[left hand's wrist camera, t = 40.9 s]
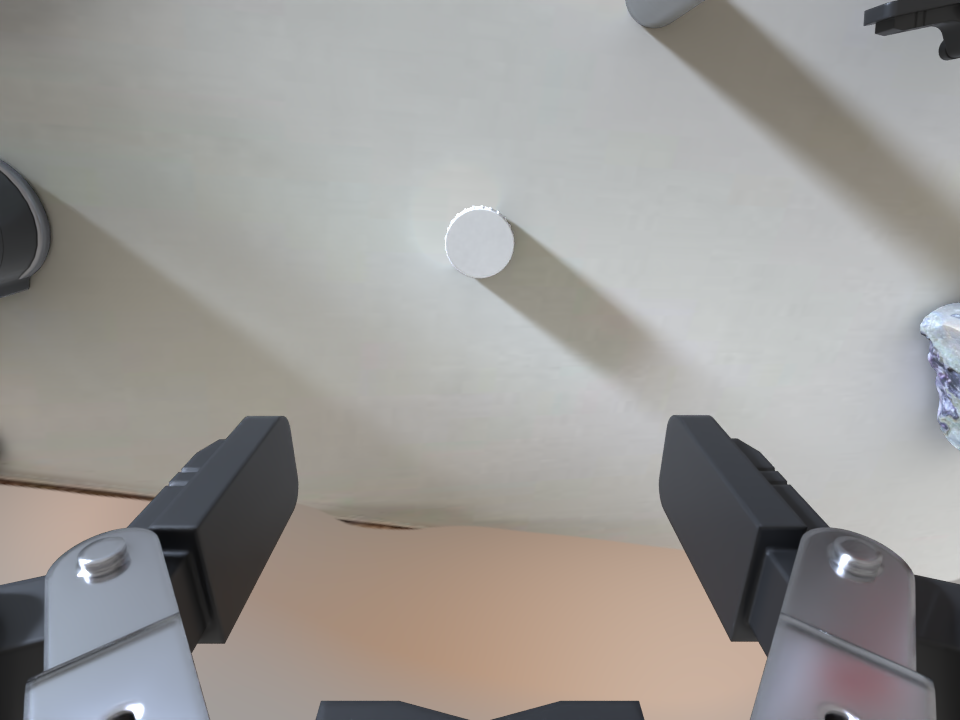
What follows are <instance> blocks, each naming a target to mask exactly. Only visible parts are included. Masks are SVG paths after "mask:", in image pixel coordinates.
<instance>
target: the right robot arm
mask: <svg viewBox="0 0 960 720" xmlns="http://www.w3.org/2000/svg"><path fill="white" fill-rule="evenodd" d="M872 24H876V27H875V34H878V35H882V36H886V35H891V34H896V33H901V32H906V31H910V30H915V29H920V28H925V27H930V26H934V27H937V28H939V29H940V30H941V32H942V35H943V39H944V40H943V42H942V43H941V45H940V47H939V56H940V58H941V59H943V60H951V59H956V58H960V0H897V1H893V2H889V3H886V4H883V5H880V6H877V7H874V8H872V9H869V10H866V11H865V13H864V26H867V25H872Z"/></svg>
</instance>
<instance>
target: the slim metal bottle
mask: <svg viewBox="0 0 960 720" xmlns="http://www.w3.org/2000/svg"><path fill="white" fill-rule="evenodd" d="M625 1H626V5H627V8H628V11H629V13H630V14H631V16H632V17H633V19H634V20H635V21H636V22H638V23H639V24H641V25H643V26H645V27H649V28H659V27H663V26H666V25H668V24H670V23H671V22H673V21H674V20H676V19H677V18H679V17H680V16H682V15H684V14H685V13H687V12H688V11H690V10H691V9H693V8H694V7H696V6H697V5H699V4H700V3H702V2H703V1H705V0H625Z"/></svg>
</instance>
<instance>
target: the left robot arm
mask: <svg viewBox="0 0 960 720" xmlns="http://www.w3.org/2000/svg"><path fill="white" fill-rule="evenodd" d="M49 246H50V228H49V223H48V219H47V216H46V213H45V210H44V208H43V206H42V203H41V202H40V200H39V198H38V196H37V195H36V193H35V192H34V190H33V189H32V188H31V186H30V185H29V184H28V183H27V181H26V180H25V179H24V178H23V177H22V176H21V175H20V174H19V173H18V172H17V171H16V170H14V169H13V168H12V167H11V166H9V165H8V164H7V163H5V162H4V161H2V160H0V298H2V297H5V296H8V295H11V294H15V293H18V292H21V291H24V290H27V289H29V278H30V276H31V275H33V274H34V273H35V272H36V271H37V270H38V269H39V268H40V267H41V266H42V264H43V263H44V261H45V259H46V257H47V254H48V251H49ZM659 493H660V499H661V504H662V507H663V509H664V511H665V513H666V515H667V517H668V519H669V521H670V523H671V525H672V527H673V529H674V531H675V533H676V535H677V537H678V539H679V541H680V543H681V544H682V546H683V548H684V550H685V552H686V554H687V556H688V558H689V560H690V562H691V564H692V566H693V568H694V570H695V572H696V574H697V576H698V578H699V580H700V582H701V584H702V586H703V588H704V589H705V591H706V593H707V595H708V597H709V599H710V601H711V603H712V605H713V607H714V609H715V611H716V613H717V615H718V617H719V619H720V621H721V623H722V625H723V627H724V629H725V631H726V633H727V634H728V636H729V638H730V640H731V641H732V642H733V641H735V642H736V641H737V642H748V641H749V642H759V644H760V645H761V647H762V649H763V651H764V652H765V654H766V656H767V661H766V664H765V668H764V671H763V675H762V678H761V682H760V686H759V689H758V693H757V696H756V700H755V704H754V707H753V711H752V714H751V718H750V720H960V584H956V583H951V582H946V581H942V580H937V579H932V578H927V577H923V576H918V575H914V574H913V572H912V570H911V569H910V567H909V566H908V564H907V563H906V562H905V561H904V560H903V559H902V558H901V557H900V556H898V555H897V554H896V553H895V552H893V551H892V550H890V549H889V548H888V547H886V546H884V545H883V544H881V543H879V542H877V541H875V540H873V539H871V538H869V537H866V536H864V535H861V534H858V533H855V532H852V531H848V530H844V529H838V528H830V527H829V526H828V525H827V524H826V523H825V522H824V521H823V520H822V518H821V517H820V516H819V515H818V514H817V513H816V512H815V511H814V510H813V509H812V508H811V507H810V505H809V504H808V503H807V502H806V501H805V500H804V499H803V498H802V497H801V496H800V495H799V494H798V493H797V491H796V490H795V489H794V488H793V487H792V486H791V485H787V481H786V480H785V479H784V477H783V476H782V475H781V474H780V473H779V472H778V471H775V468H774V467H773V466H772V464H771V463H770V462H769V461H768V460H767V459H766V458H765V457H764V456H763V455H762V454H761V453H760V452H759V451H757V450H756V449H754V448H752V447H751V446H749V445H747V444H746V443H744V442H742V441H741V440H739V439H731V438H730V437H729V436H728V435H727V433H726V432H725V431H724V430H723V429H722V428H721V427H720V425H719V424H718V423H717V422H716V421H715V420H714V418H713V417H711V416H710V415H673V416H671V417H670V419H669V421H668V425H667V430H666V437H665V444H664V450H663V457H662V464H661V470H660V477H659ZM297 496H298V476H297V470H296V463H295V457H294V450H293V443H292V437H291V430H290V425H289V422H288V420H287V418H286V417H284V416H247V417H245V418H244V419H243V420H242V421H241V423H240V424H239V425H238V426H237V427H236V428H235V429H234V430H233V432H232V433H231V434H230V435H229V436H228V437H227V438H226V439H219V440H218V441H216V442H214V443H213V444H211V445H209V446H208V447H206V448H204V449H203V450H201V451H199V452H198V453H196V454H195V455H194V456H193V457H192V458H191V460H190V461H189V462H188V463H187V464H186V465H185V466H184V467H183V468H182V471H181V472H178V473H177V474H176V476H175V477H174V478H173V479H172V480H171V481H170V482H169V486H165V487H164V488H163V489H162V491H161V492H160V493H159V494H158V495H157V496H156V497H155V498H154V499H153V500H152V501H151V502H150V503H149V504H148V506H147V507H146V508H145V509H144V510H143V511H142V512H141V513H140V514H139V515H138V516H137V517H136V518H135V519H134V520H133V522H132V523H131V524H130V525H129V526H128V527H127V528H122V529H116V530H112V531H108V532H105V533H102V534H99V535H96V536H94V537H91V538H89V539H87V540H85V541H83V542H81V543H79V544H77V545H76V546H74V547H72V548H71V549H70V550H68V551H67V552H65V553H64V554H63V555H62V556H60V557H59V558H58V559H57V560H56V561H55V562H54V563H53V565H52V566H51V567H50V569H49V570H48V572H47V574H46V575H45V576H41V577H36V578H32V579H27V580H22V581H18V582H13V583H8V584H4V585H0V720H210V718H209V714H208V711H207V707H206V703H205V700H204V696H203V693H202V689H201V686H200V682H199V678H198V675H197V671H196V668H195V664H194V661H193V657H192V654H191V653H192V652H193V650H194V648H195V647H196V645H197V644H213V643H214V644H224V643H225V642H226V640H227V638H228V636H229V634H230V632H231V630H232V629H233V627H234V625H235V623H236V621H237V619H238V617H239V615H240V613H241V611H242V609H243V607H244V605H245V603H246V601H247V600H248V598H249V596H250V594H251V592H252V590H253V588H254V586H255V584H256V582H257V580H258V578H259V576H260V574H261V573H262V571H263V569H264V567H265V565H266V563H267V561H268V559H269V557H270V555H271V553H272V551H273V549H274V547H275V545H276V544H277V542H278V540H279V538H280V536H281V534H282V532H283V530H284V528H285V526H286V524H287V522H288V520H289V518H290V516H291V514H292V513H293V511H294V508H295V505H296V502H297ZM316 720H468V719H464V718H460V717H457V716H453V715H449V714H445V713H442V712H438V711H434V710H431V709H427V708H423V707H420V706H416V705H412V704H408V703H405V702H401V701H321V703H320V707H319V710H318V714H317V717H316ZM492 720H644V717H643V714H642V710H641V707H640V703H639V701H559V702H555V703H551V704H548V705H544V706H540V707H537V708H533V709H529V710H526V711H522V712H518V713H515V714H511V715H507V716H504V717H500V718H496V719H492Z"/></svg>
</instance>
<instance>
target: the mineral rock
mask: <svg viewBox="0 0 960 720" xmlns="http://www.w3.org/2000/svg"><path fill="white" fill-rule="evenodd" d="M920 332H921V334H922V335H924V336H926V338H928V339H929V340H930V353H929V354H928V361H929V362H930V364H931V366H932V367H933V368H934V369H935V371H936V372H937V377H936V382H935V383H936V387H937V390H938V392H939V398H940V401H939V409H938V415H937V420H938V422H939V424H940V425H941V427H940V429H941V431H942V432H943V433H944V435H945V437H946V438H947V440H948V441H949V442H950V443H951V444H952V445H953V446H954V447H956V448H957V449H958V450H959V451H960V303H952V304H948V305H944V306H942V307H940V308H938V309H936V310H935V311H933V312H931V313H930V314H929V315H927V316H926V317H925V318H924V319H923V322H922V323H921V324H920Z"/></svg>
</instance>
